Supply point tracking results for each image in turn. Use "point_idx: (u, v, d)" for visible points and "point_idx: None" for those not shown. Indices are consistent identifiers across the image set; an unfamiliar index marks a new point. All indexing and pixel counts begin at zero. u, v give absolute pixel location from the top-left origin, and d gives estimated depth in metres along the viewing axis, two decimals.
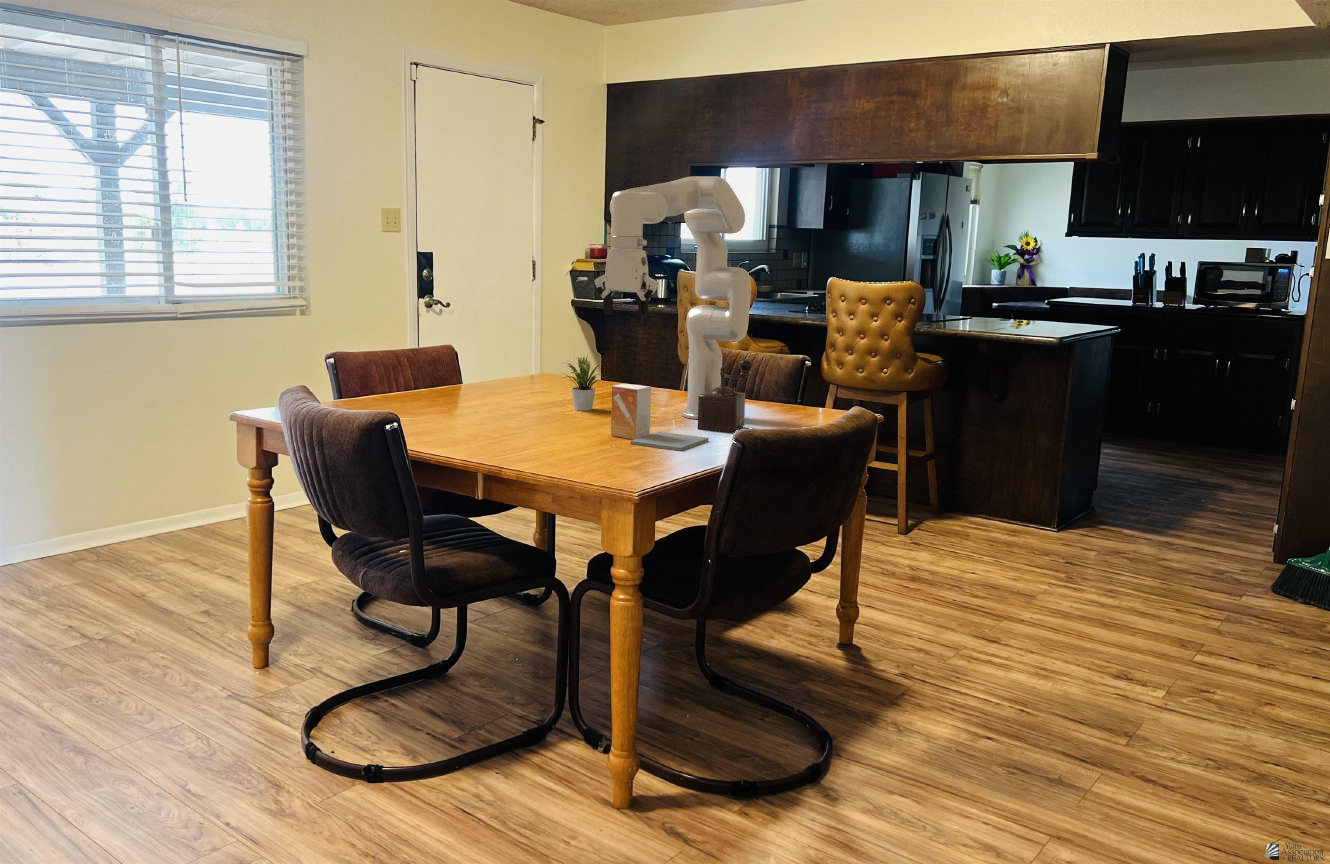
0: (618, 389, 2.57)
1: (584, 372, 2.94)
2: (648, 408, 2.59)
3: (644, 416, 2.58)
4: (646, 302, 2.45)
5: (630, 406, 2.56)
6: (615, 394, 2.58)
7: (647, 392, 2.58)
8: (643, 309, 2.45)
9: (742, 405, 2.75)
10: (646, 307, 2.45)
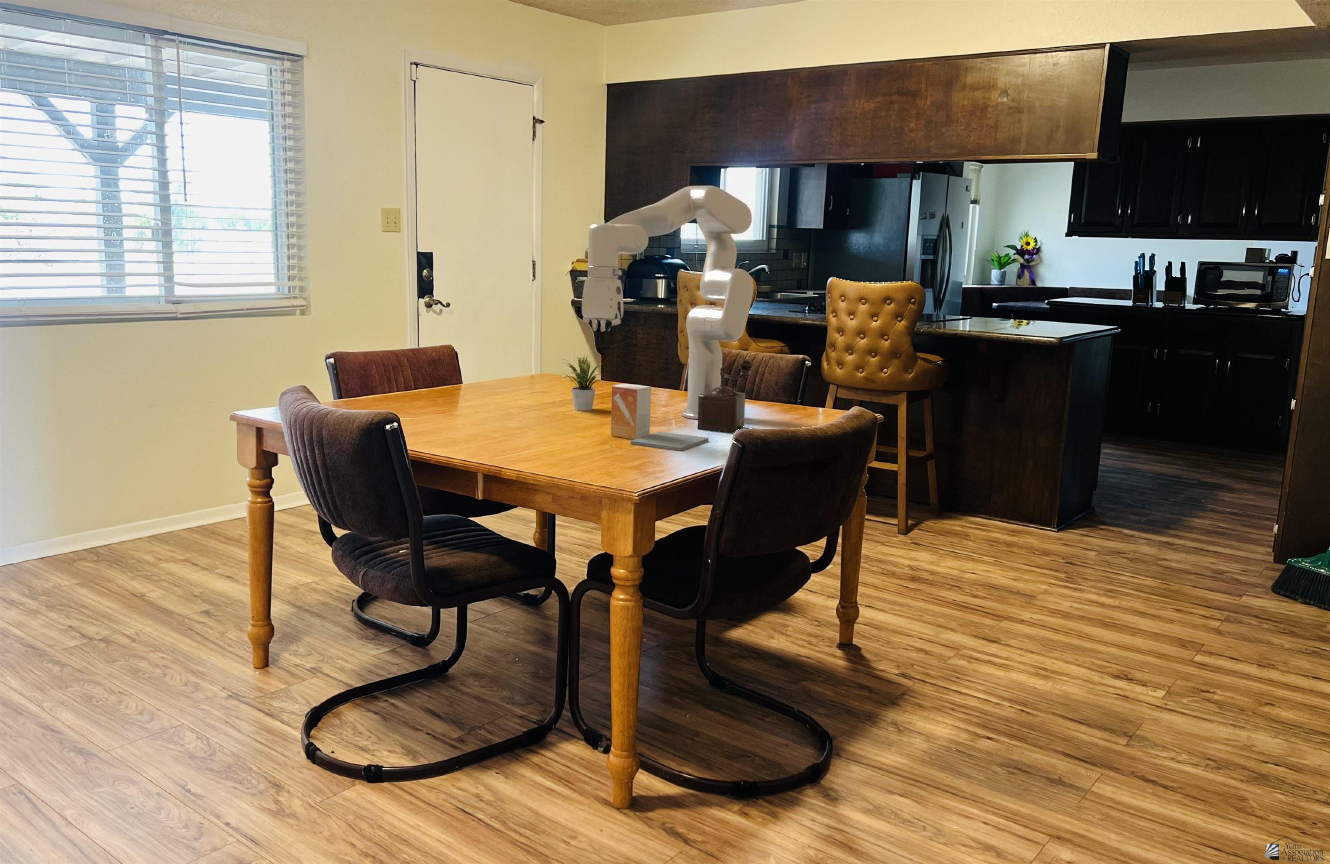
0: (618, 389, 2.57)
1: (584, 372, 2.94)
2: (648, 408, 2.59)
3: (644, 416, 2.58)
4: (606, 333, 2.59)
5: (630, 406, 2.56)
6: (615, 394, 2.58)
7: (647, 392, 2.58)
8: (603, 339, 2.59)
9: (742, 405, 2.75)
10: (606, 337, 2.60)
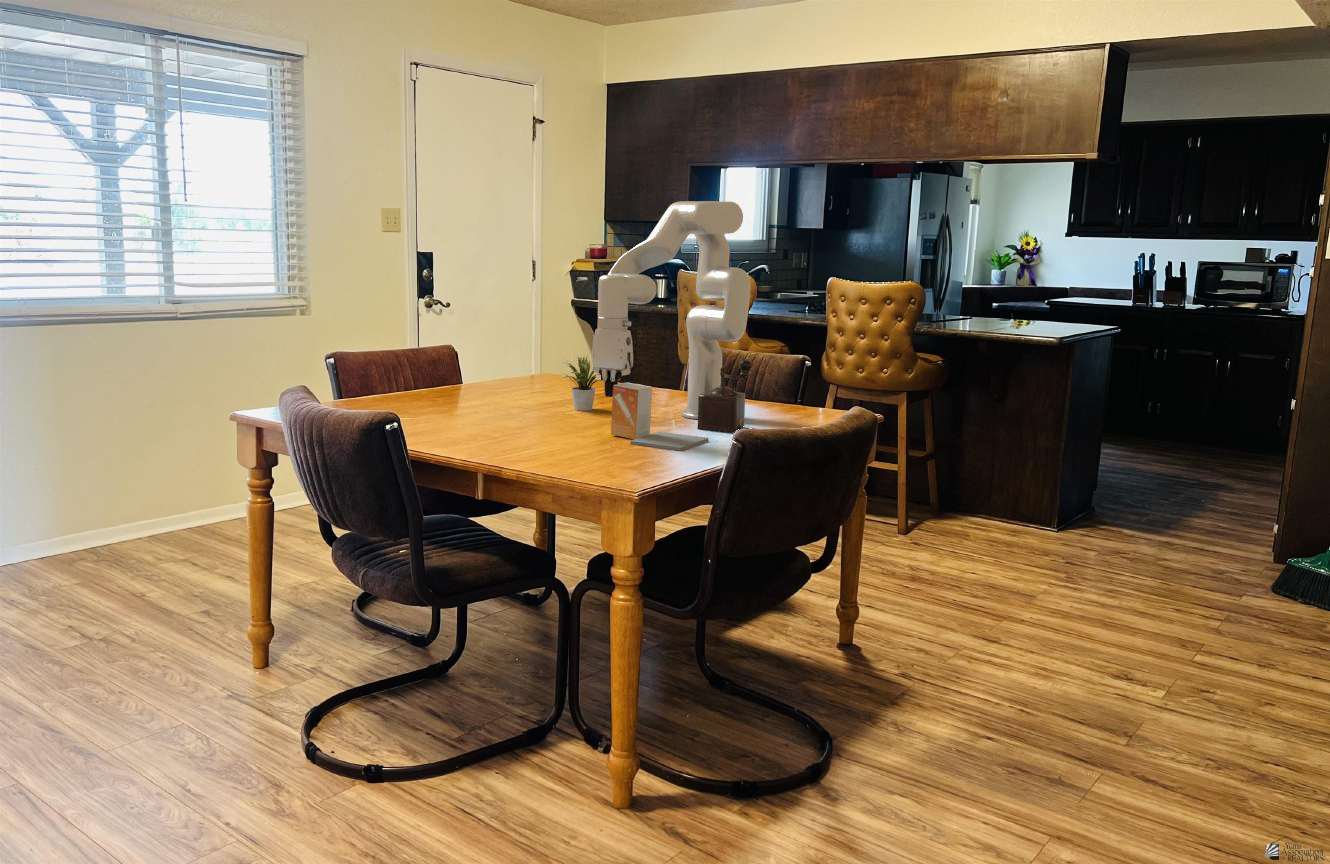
0: (619, 389, 2.57)
1: (584, 372, 2.94)
2: (649, 408, 2.59)
3: (644, 416, 2.58)
4: (616, 383, 2.60)
5: (631, 406, 2.56)
6: (616, 393, 2.58)
7: (648, 392, 2.58)
8: None
9: (742, 405, 2.75)
10: None
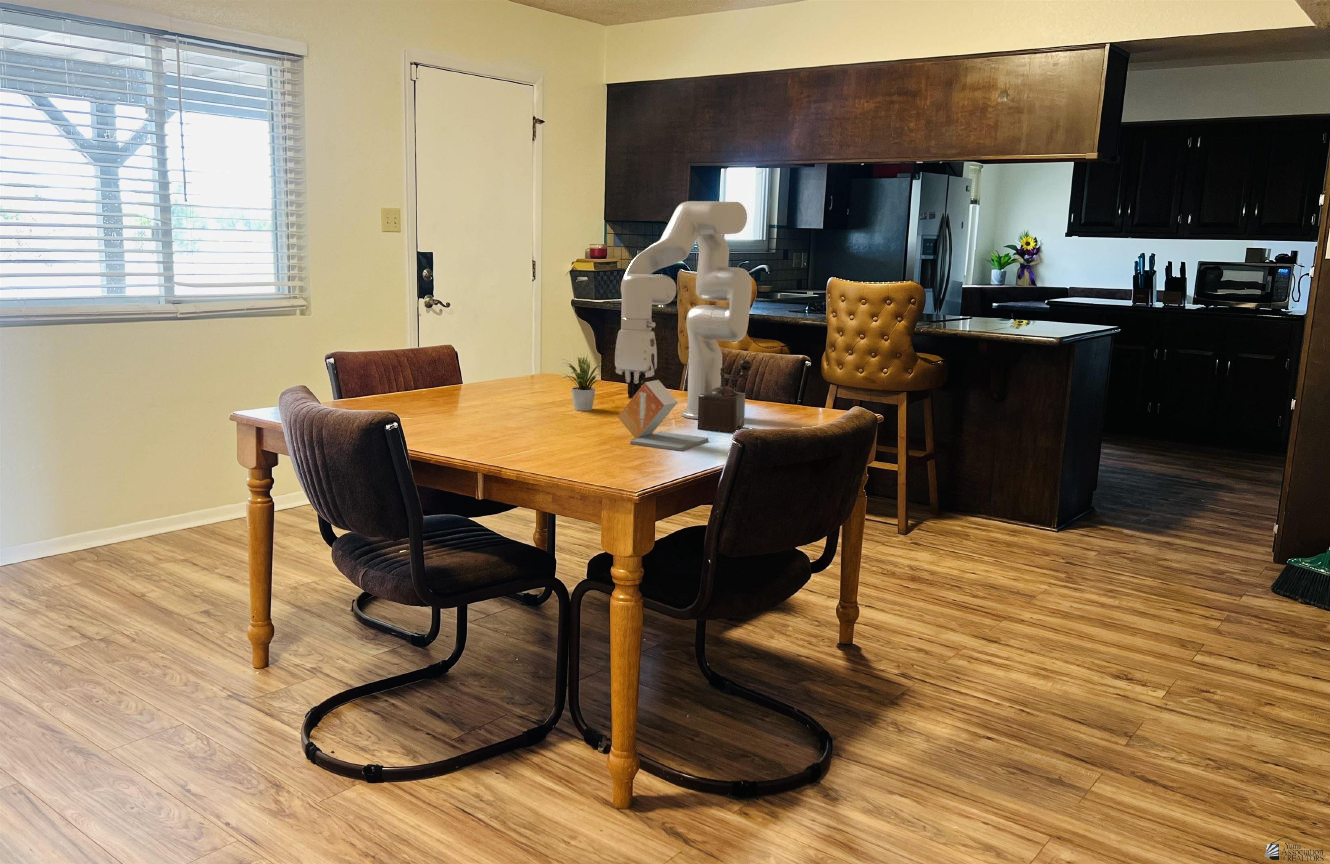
0: (648, 390, 2.52)
1: (584, 372, 2.94)
2: (663, 417, 2.57)
3: (655, 423, 2.56)
4: (639, 384, 2.57)
5: (649, 411, 2.53)
6: (642, 391, 2.53)
7: (671, 406, 2.54)
8: (636, 391, 2.57)
9: (742, 405, 2.75)
10: None
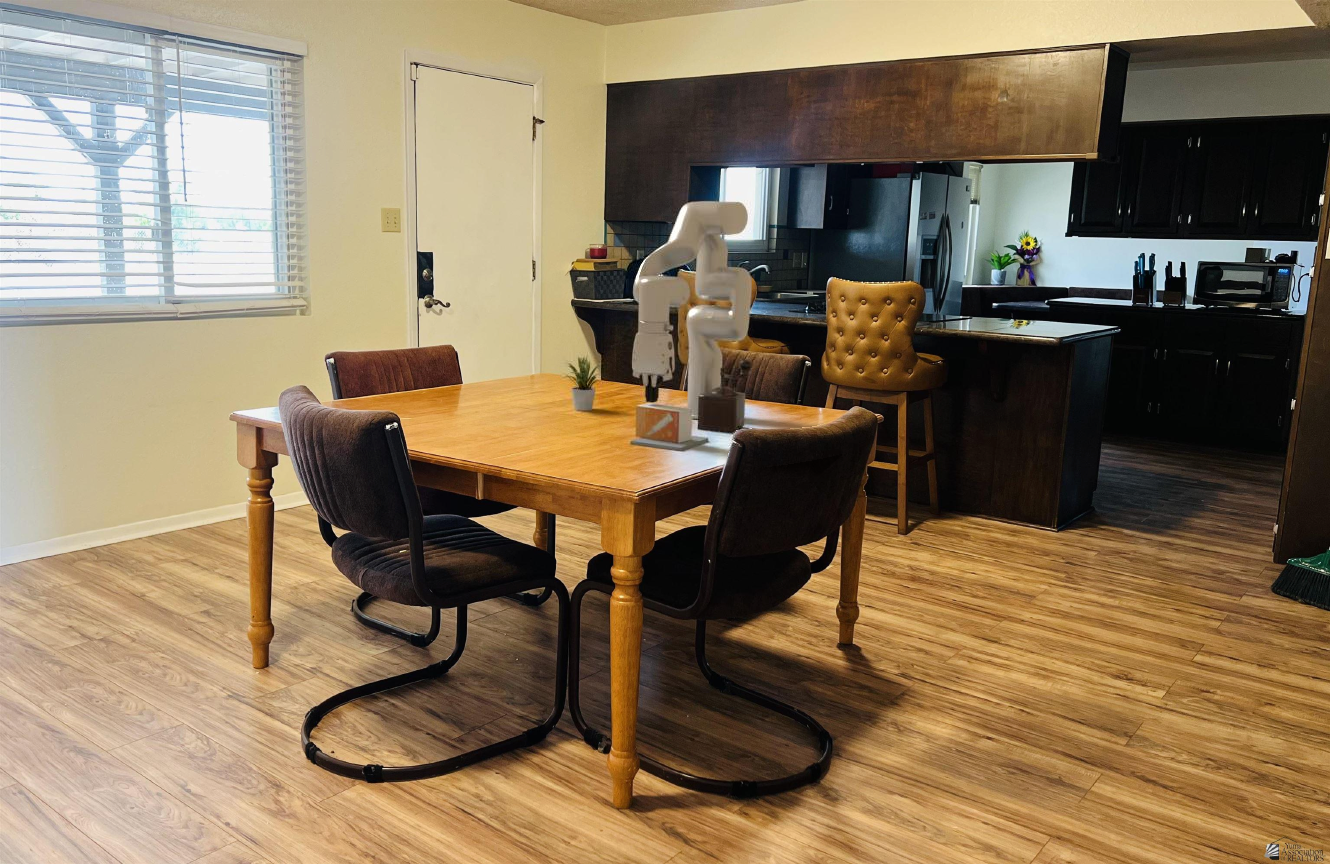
0: (676, 419, 2.49)
1: (584, 372, 2.94)
2: None
3: None
4: (657, 388, 2.55)
5: (663, 433, 2.52)
6: (671, 415, 2.49)
7: None
8: (654, 395, 2.55)
9: (742, 405, 2.75)
10: (657, 393, 2.55)
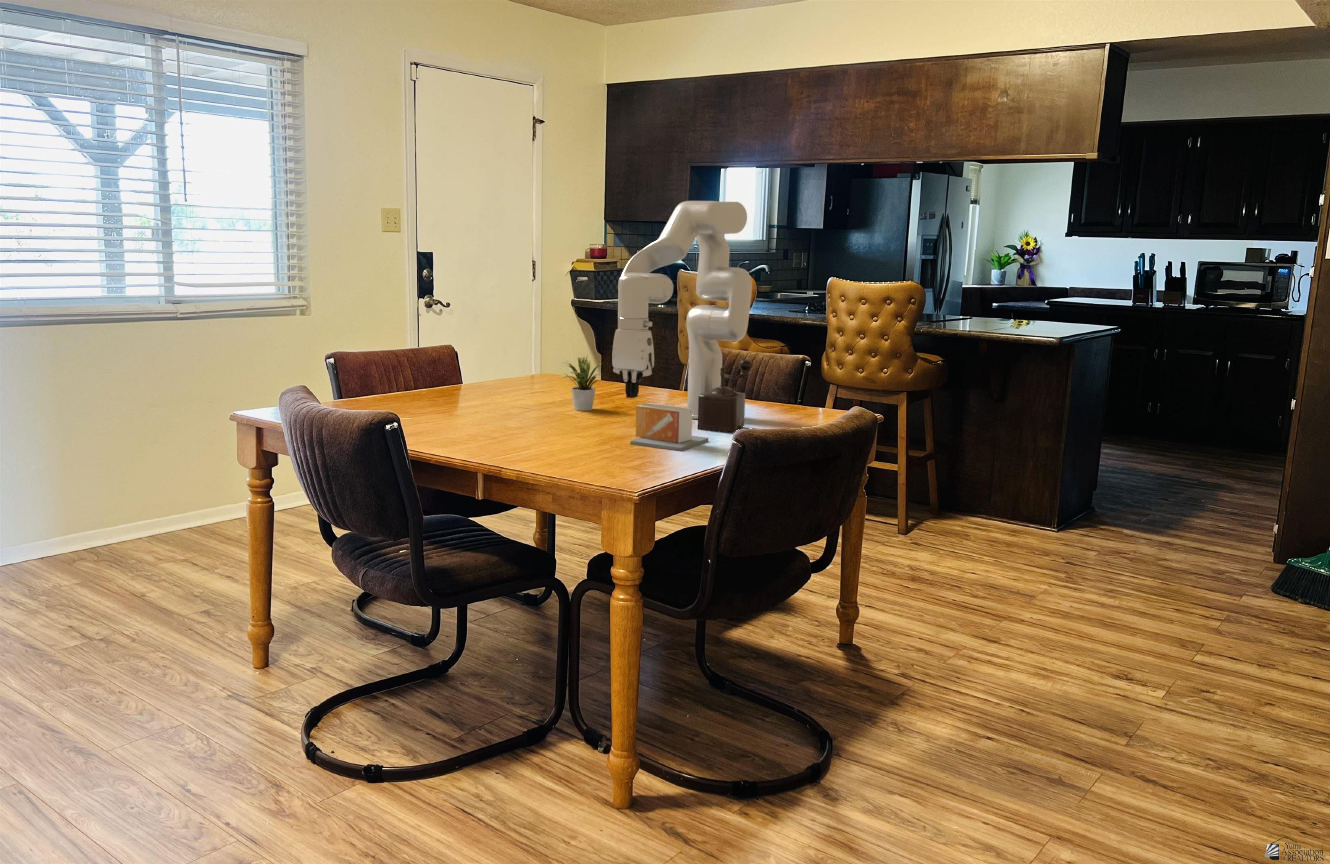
0: (676, 419, 2.49)
1: (584, 372, 2.94)
2: None
3: None
4: (637, 383, 2.58)
5: (663, 433, 2.52)
6: (671, 415, 2.49)
7: None
8: (634, 390, 2.58)
9: (742, 405, 2.75)
10: (637, 388, 2.58)
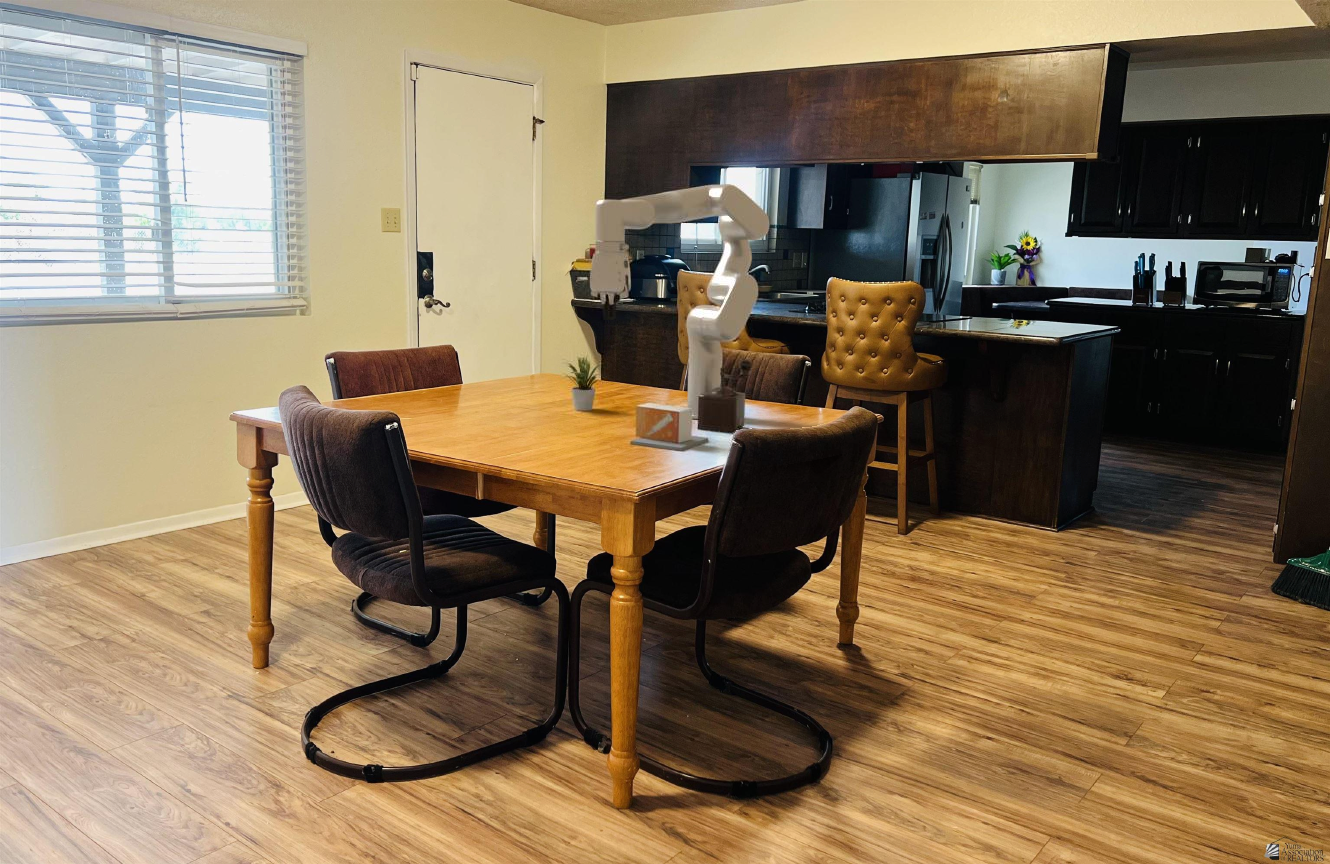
0: (676, 419, 2.49)
1: (584, 372, 2.94)
2: None
3: None
4: (614, 306, 2.67)
5: (663, 433, 2.52)
6: (671, 415, 2.49)
7: None
8: (611, 312, 2.67)
9: (742, 405, 2.75)
10: (614, 310, 2.68)
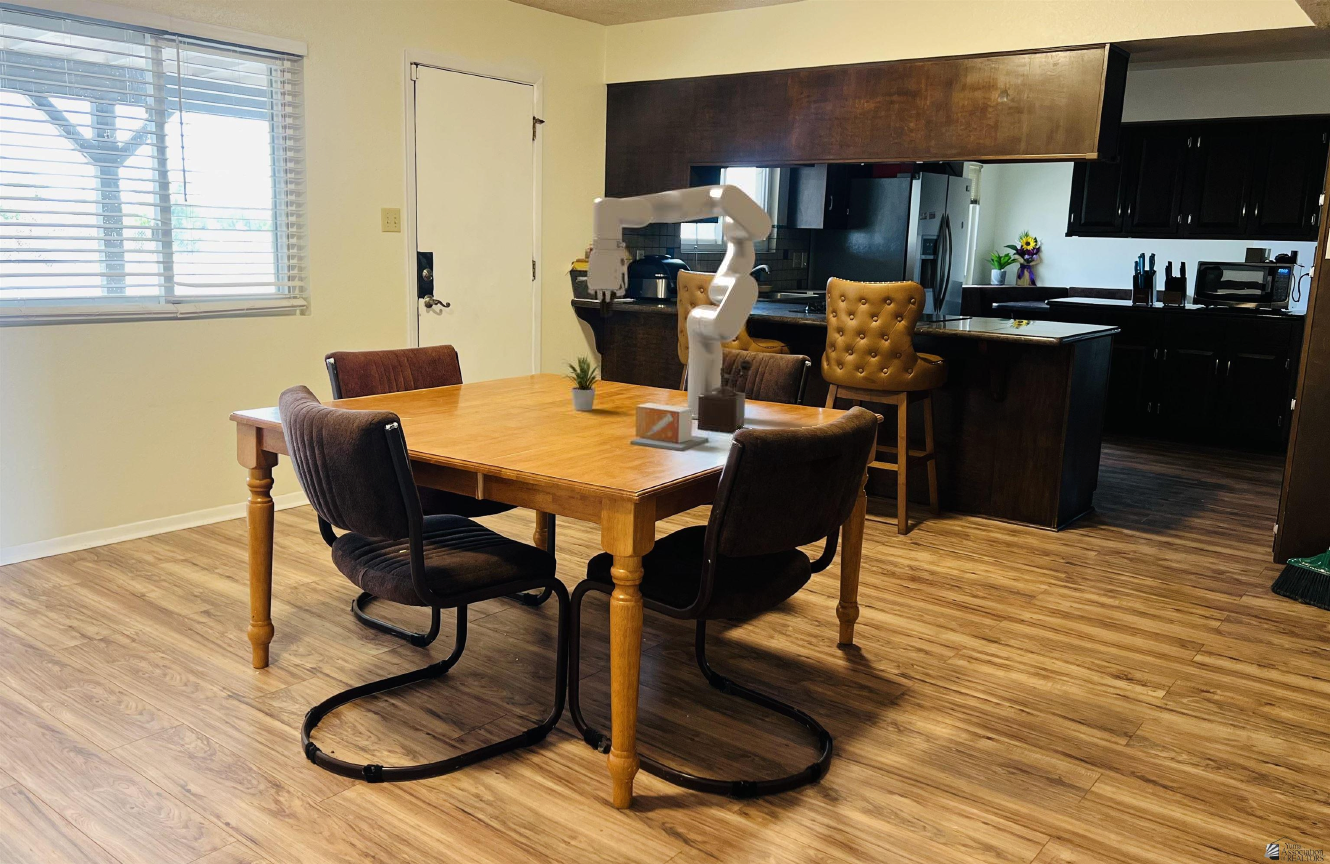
0: (676, 419, 2.49)
1: (584, 372, 2.94)
2: None
3: None
4: (611, 303, 2.69)
5: (663, 433, 2.52)
6: (671, 415, 2.49)
7: None
8: (608, 309, 2.69)
9: (742, 405, 2.75)
10: (611, 308, 2.70)
